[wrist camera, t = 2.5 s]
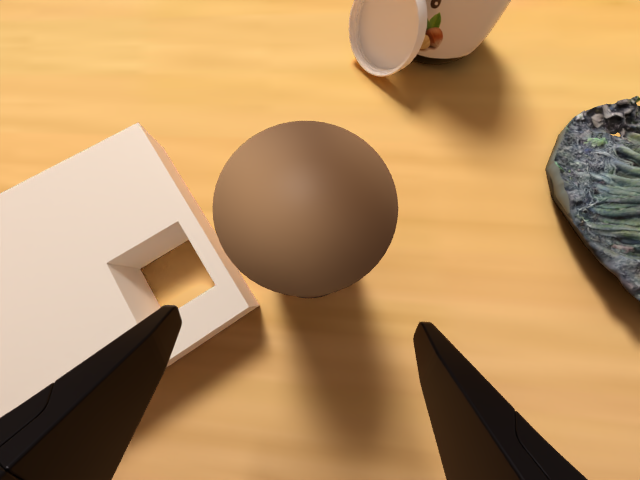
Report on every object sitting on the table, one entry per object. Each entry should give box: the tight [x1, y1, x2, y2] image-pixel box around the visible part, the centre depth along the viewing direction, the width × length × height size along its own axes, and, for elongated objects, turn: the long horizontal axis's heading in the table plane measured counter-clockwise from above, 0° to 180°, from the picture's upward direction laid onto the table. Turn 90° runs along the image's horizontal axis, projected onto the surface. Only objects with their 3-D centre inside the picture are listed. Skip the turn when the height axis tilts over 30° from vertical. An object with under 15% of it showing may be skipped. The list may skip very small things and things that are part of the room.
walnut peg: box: [213, 121, 398, 298], centre depth 15 cm, size 6×6×12 cm
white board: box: [0, 123, 260, 417], centre depth 19 cm, size 18×16×4 cm
